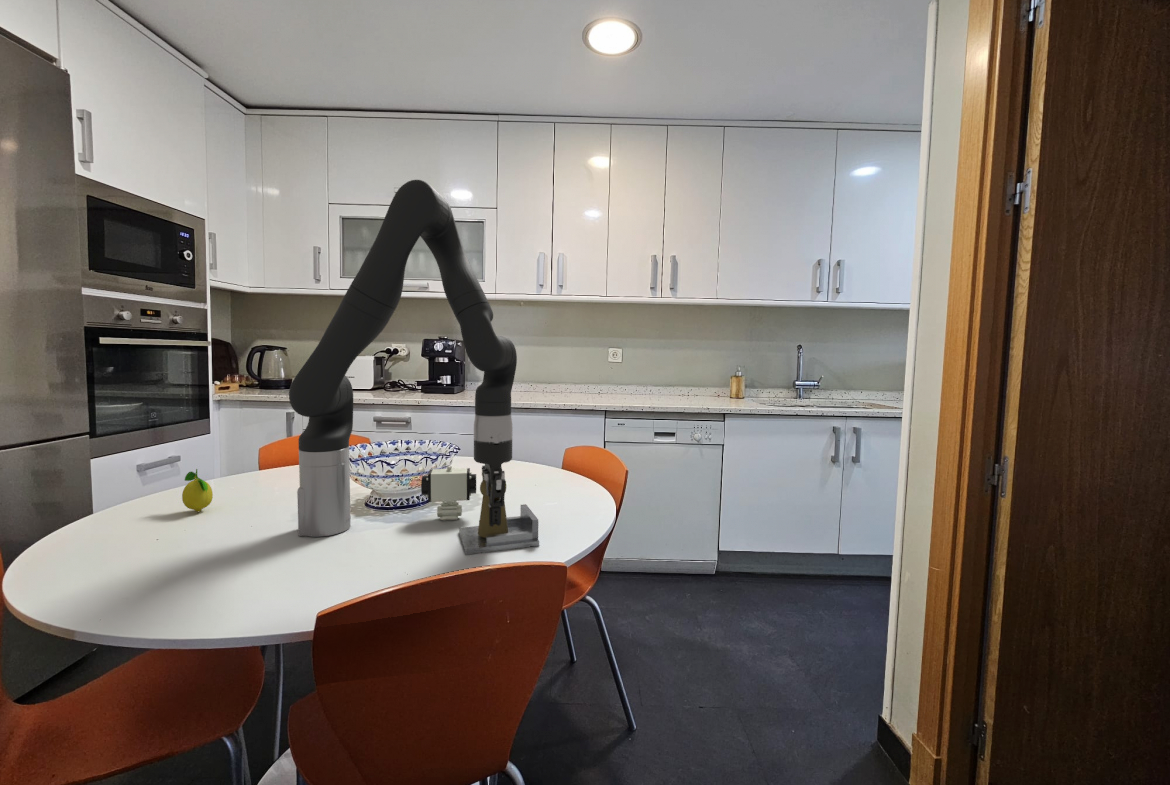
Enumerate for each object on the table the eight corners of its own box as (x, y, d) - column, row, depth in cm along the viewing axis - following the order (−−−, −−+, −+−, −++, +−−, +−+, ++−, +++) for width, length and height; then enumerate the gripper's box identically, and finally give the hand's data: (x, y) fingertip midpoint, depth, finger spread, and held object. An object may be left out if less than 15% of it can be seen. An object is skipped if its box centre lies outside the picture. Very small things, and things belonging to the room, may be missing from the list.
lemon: (185, 509, 115) (184, 466, 114) (216, 506, 117) (215, 464, 117) (176, 518, 109) (174, 473, 108) (209, 514, 111) (207, 471, 111)
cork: (513, 529, 101) (514, 476, 100) (499, 539, 96) (499, 483, 95) (487, 525, 103) (487, 473, 102) (471, 535, 98) (471, 480, 97)
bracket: (465, 554, 92) (465, 528, 92) (459, 532, 103) (459, 509, 103) (539, 546, 97) (539, 520, 96) (524, 525, 108) (525, 503, 108)
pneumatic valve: (476, 520, 111) (476, 467, 110) (421, 523, 108) (420, 469, 107) (476, 512, 116) (476, 462, 115) (424, 515, 114) (423, 463, 113)
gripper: (469, 432, 103) (469, 512, 105) (478, 444, 90) (478, 536, 91) (505, 430, 106) (504, 509, 107) (519, 442, 92) (519, 532, 94)
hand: (493, 521), depth 99 cm, fingers closed on cork, 4 cm apart
